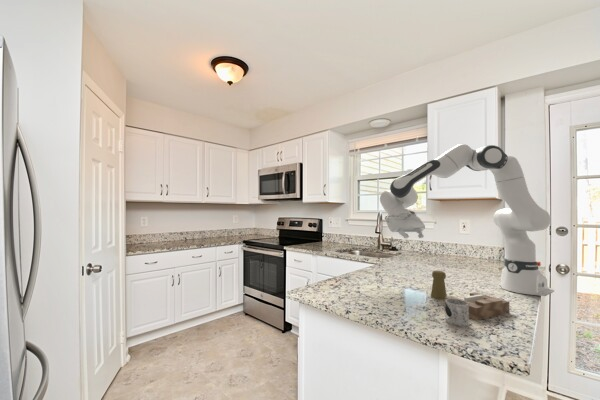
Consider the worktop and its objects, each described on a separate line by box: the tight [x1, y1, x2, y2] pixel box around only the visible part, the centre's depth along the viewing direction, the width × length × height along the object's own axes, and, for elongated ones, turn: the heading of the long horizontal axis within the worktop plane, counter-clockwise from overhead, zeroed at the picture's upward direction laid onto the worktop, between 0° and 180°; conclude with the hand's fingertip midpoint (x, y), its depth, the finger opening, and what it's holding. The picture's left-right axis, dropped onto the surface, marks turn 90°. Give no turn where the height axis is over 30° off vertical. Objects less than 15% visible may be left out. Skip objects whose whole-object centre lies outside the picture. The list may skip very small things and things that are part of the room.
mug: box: [444, 299, 470, 328], centre depth 86 cm, size 10×7×7 cm, turn 157°
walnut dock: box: [444, 291, 510, 321], centre depth 99 cm, size 18×12×5 cm, turn 113°
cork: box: [430, 270, 448, 301], centre depth 114 cm, size 6×6×11 cm
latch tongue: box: [463, 293, 485, 303], centre depth 100 cm, size 9×1×4 cm, turn 113°
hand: (414, 237), depth 127 cm, fingers open, 8 cm apart
